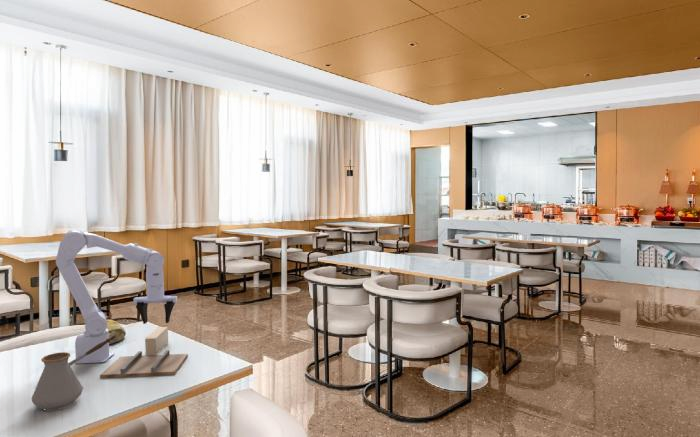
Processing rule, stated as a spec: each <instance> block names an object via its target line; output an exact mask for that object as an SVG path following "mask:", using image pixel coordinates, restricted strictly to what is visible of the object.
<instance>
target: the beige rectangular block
mask: <svg viewBox="0 0 700 437" xmlns="http://www.w3.org/2000/svg"><path fill="white" fill-rule="evenodd" d="M144 342H145V343H144V345H145V346H144V347H145V356H146V355H159V353H160V352H161V351H162V349H163V348H165V346H166V345H167V344H168V343H169V328H168V326H160V327H159V326H158V327H156V328H155V329H154V330H153V331H152V332H151V333H150V334H148V336H146V338H145V339H144ZM159 351H160V352H159Z"/></svg>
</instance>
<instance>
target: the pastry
mask: <svg viewBox="0 0 700 437" xmlns="http://www.w3.org/2000/svg"><path fill="white" fill-rule="evenodd" d="M106 321H107V329H108V332H109V338H111V337H112V336H114V335H116V336H117V338H118V339H119V341H117V340H118V339H117V338H114V339H113V340H111V341H110V342H109V345H112V344H115V343H117V342H120V341H123V340H124V338H125V337H126V334H127V332H126V330H125V328H124V327H123V326H122V325H121V324H119V323H118V321H116V320H113V319H107V318H106ZM116 339H117V340H116Z"/></svg>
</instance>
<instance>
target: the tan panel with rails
mask: <svg viewBox="0 0 700 437" xmlns="http://www.w3.org/2000/svg"><path fill="white" fill-rule="evenodd" d="M188 357H189V354H188V353H176V354H175V353H173V354H171V353H170V350H169V349H166V350H165V351H164V353H162V354H157V355H146V354H145V355H143V351H142V350H141V351H137V352H136V353H135V354H134V355H129V356H127V355H126V356H119V357H118V358H117V359H116V360H115V361H114V362H112V363H111V364H110V365H109V366H108V367H107V368H106V369H105V370H104V371H103V372H102V373H100V374H99V379H110V378H111V379H112V378H129V377H131V378H132V377H135V378H136V377H151V376H153V377H154V376H155V377H156V376H169V375H170V376H172V375H176V374H177V373H178V371H179V370H180V368H181V367H182V366H183V364H184V363H185V362H186V360H187V359H188Z"/></svg>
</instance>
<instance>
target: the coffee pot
mask: <svg viewBox="0 0 700 437" xmlns="http://www.w3.org/2000/svg"><path fill="white" fill-rule="evenodd" d="M114 338H117V336H116V335H114V336H112V337H111V338H109V339H107V340H106V341H104V342H102V343H99V344H98V345H96V346H95V347H93V348H92V349H90V350H89V351H87V352H86V353H85V354H83V355H81V356H80V357H78V358H76V357H75V359H73V360H71V361H69V358H70V357H71V353H70V352H55V353H52V354H48V355H45V356H43V357H41V362H42V363H43V364H44V367H43V371H42V373H41V374H40V377H39V380H38V381H37V384H36V387H35V389H34V391H33V394H32V397H31V402H32V404H33V405H34V406H35V407H37V408H40V409H41V408H42V409H45V410H44V411H48V410H50V411H57V410H61V409H63V408H67V407H70V406H71V405H73V404H74V403H75V402H76V400H77V399H79V397H80V396H81V395H82V392H83V389H84V387H83V385H82V383H81V381H80V380H79V378H78V376H77V375H76V373H75V372H74V370H73V368H72V365H74V364H75V363H76V362H77V361H79V360H80V359H82V358H84V357H85V356H87V355H89V354H91V353H92V352H94V351H96V350H98V349H100V348H101V347H103V346H104V345H105V344H106V343H109V342H110V341H111V340H113V339H114ZM117 339H118V338H117ZM117 339H116V340H117ZM117 341H118V342H120V341H119V339H118V340H117ZM42 409H41V410H42Z"/></svg>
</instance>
